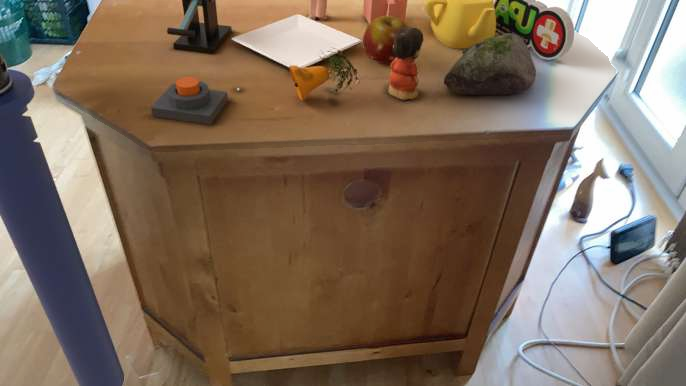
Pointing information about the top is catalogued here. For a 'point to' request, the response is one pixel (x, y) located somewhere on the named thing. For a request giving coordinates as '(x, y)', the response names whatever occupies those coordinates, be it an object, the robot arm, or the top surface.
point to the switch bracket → (203, 30)
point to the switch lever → (186, 21)
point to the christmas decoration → (321, 75)
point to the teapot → (462, 21)
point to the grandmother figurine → (317, 9)
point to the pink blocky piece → (384, 9)
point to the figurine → (405, 63)
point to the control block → (190, 105)
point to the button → (188, 86)
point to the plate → (296, 41)
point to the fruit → (382, 38)
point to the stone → (493, 67)
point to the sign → (536, 26)
